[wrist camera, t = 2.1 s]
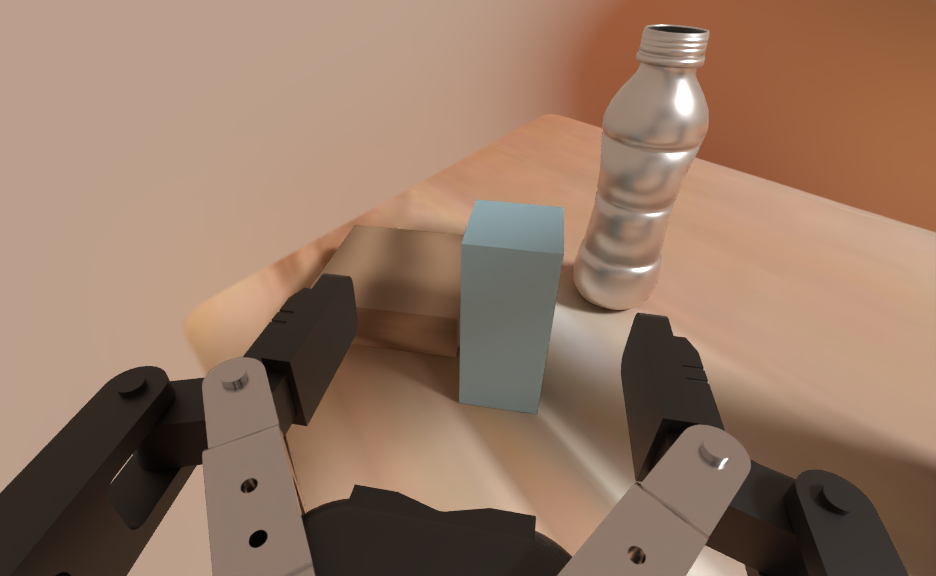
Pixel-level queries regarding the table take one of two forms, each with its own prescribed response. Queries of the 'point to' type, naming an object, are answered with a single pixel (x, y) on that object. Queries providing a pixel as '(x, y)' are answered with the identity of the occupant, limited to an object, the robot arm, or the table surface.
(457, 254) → the walnut block
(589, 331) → the table surface
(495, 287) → the blue block
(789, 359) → the table surface
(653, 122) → the plastic bottle
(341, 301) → the robot arm
